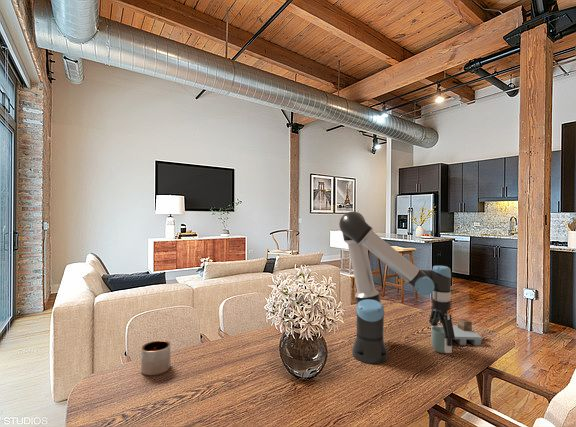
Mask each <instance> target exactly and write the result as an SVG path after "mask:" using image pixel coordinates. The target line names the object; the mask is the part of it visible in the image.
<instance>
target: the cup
mask: <svg viewBox="0 0 576 427" xmlns="http://www.w3.org/2000/svg"><path fill="white" fill-rule="evenodd" d="M430 330H431V329H430ZM430 334H431V336H430V337H431V338H430V339H431V341H430V342H431V346H432V347H431V348H432V349H433V350H434V351H435V352H436V353H440V354H446V353H445V338H444V337H446V336H445V332H444V329H443V327H432V330H431V332H430Z"/></svg>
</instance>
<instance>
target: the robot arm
mask: <svg viewBox="0 0 576 427" xmlns="http://www.w3.org/2000/svg"><path fill="white" fill-rule="evenodd" d="M339 229H340V231H341V232H342V239H343V241H344V242H345V243H346V244H347V246H348V252H349V256H350V261H351V266H352V267H351V268H352V271H353V276H354V281H355V287H356V290H357V291H356V293H355V294H354V298H355V302H356V336H355V337H356V338H355V340H354V343H353V346H352V348H351V349H352V352H351V353H352V354H351V355H352V356H353V358H354V359H357V360H358V361H360V362H363V363H367V364H381V363H384V362H386V361H387V360H388V351H387V348H386V343H385V341H384V332H385V330H384V321H385V320H384V318H385V317H384V316H385V308H384V305H383V303H382V301H381V296H380V292H379V290H377V289H376V288H375V281H374V278H373V271H372V268H371V263H370V258H369V253H368V251H369V252H370V253H372V254H373V255H374V256H375V257H377V259H379V260H380V261H381V262H383V263H384V264H385V265H386V266H388V268H389V269H391V270H392V271H394V273H396V274H397V275H398V276H400V278H402V279H403V280H404V281H405V284H406V285H407V286H411V287H412V288H414V289H415V291H416V292H417V293H419V294H420V295H423V296H428V295H431V294H432V301H431V303H432V305H431V313H430V316H429V320H428V322H429V323H430V325H431V329H430V330H432V327H438V326H439V322H440V324H441V326H443V329H444V332H445V336H446V337H444V338H445V353H444V354H449V353H450V354H452V345H453V339H455V335H454V330H453V326H454V325H453V322H452V315H451V314H448V311H450V310H451V308H452V306H451V295H452V293H451V289H452V288H451V287H452V286H451V285H452V283H451V282H452V271H451V268H450V267H448V266H447V265H433V266H432V269H429V270H428V269H420V268H418V267H417V266H416V265H414V263H412V262H411V261H410V260H408V259H407V258H406V257H405V256H403V255H402V254H401V253H400V252H399V251H398V250H396V249H395V248H394V247H392V246H391V245H390V244H389V243H388V242H387V241H386V240H384V239H382V237H381V236H379V235H378V234H377V233H375V232H374V230H373V227H371V225H369V224H368V223H367V222H366V219H365V217H364V216H363V214H361V213H360V212H358V211H349V212H346V213H344V214H343V215H342V216H341V217H340V219H339Z"/></svg>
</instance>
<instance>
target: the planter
mask: <svg viewBox="0 0 576 427" xmlns="http://www.w3.org/2000/svg"><path fill="white" fill-rule="evenodd" d="M140 352H141V354H140V356H141V357H140V358H141V359H140V360H141V361H140V363H141V364H140V370H141V373H142V374H143V375H145V376H149V375H151V376H152V375H153V376H158V375H162V374H164V373H165V372H167V371H168V370H170V368H171V343H170V341H169V340H161V339H160V340H152V341H150V342H147V343H145V344H142V346H141V351H140ZM153 376H152V377H153Z"/></svg>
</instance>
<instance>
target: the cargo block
mask: <svg viewBox="0 0 576 427" xmlns="http://www.w3.org/2000/svg"><path fill="white" fill-rule="evenodd" d="M457 326H458V328H459V329H461V330H463V331H473V322H472V320H469V319H468V318H458V319H457Z"/></svg>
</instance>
